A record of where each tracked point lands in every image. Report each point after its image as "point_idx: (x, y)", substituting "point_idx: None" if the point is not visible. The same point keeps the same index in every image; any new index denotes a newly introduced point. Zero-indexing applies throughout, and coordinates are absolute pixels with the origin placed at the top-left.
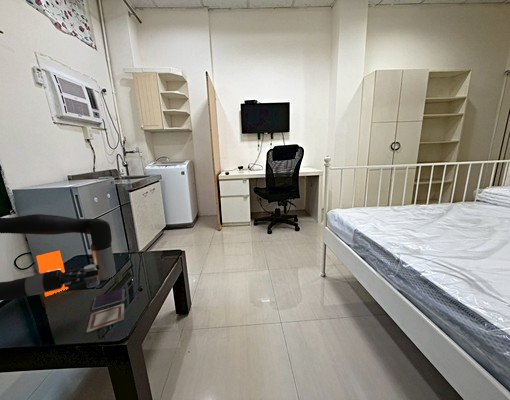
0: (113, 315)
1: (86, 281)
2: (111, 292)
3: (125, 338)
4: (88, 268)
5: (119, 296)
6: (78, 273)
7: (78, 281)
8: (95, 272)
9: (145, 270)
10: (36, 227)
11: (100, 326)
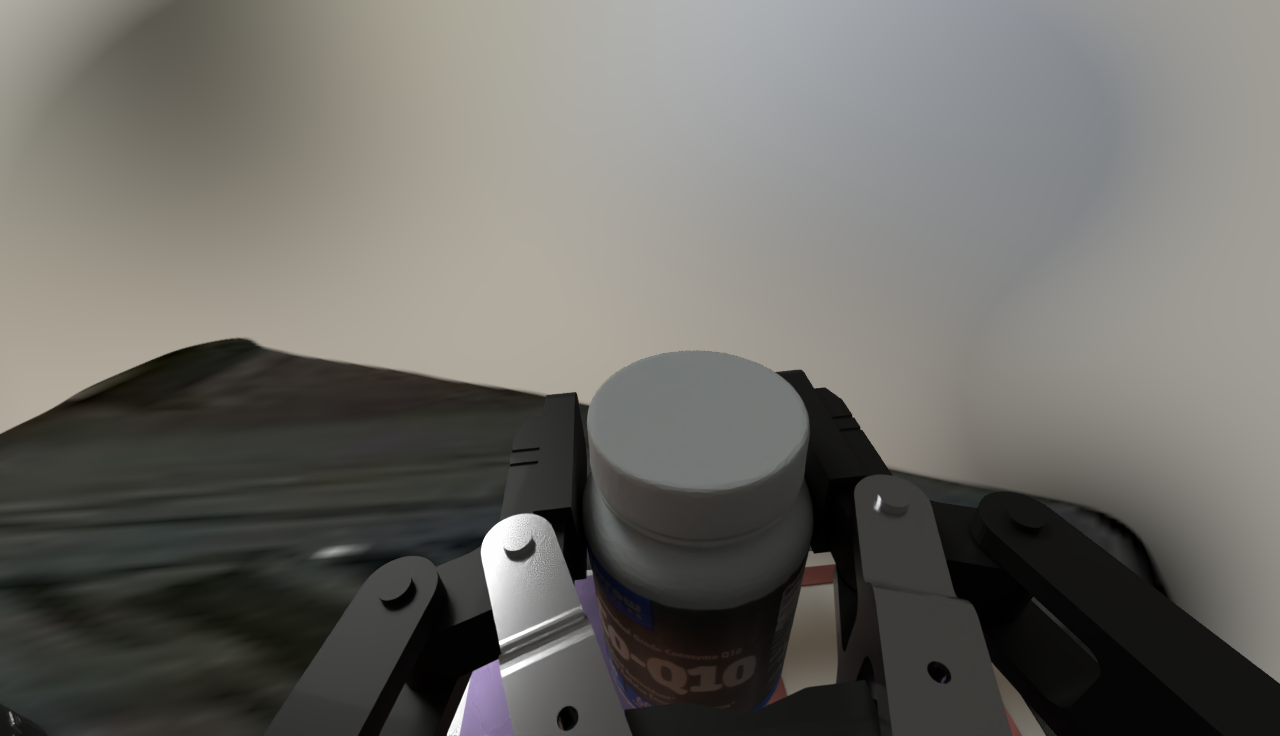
0: None
1: (785, 642)
2: (488, 671)
3: (1103, 515)
4: (801, 403)
5: None
6: (929, 595)
7: (1056, 648)
8: (825, 396)
9: (272, 481)
10: None
11: (1004, 687)
